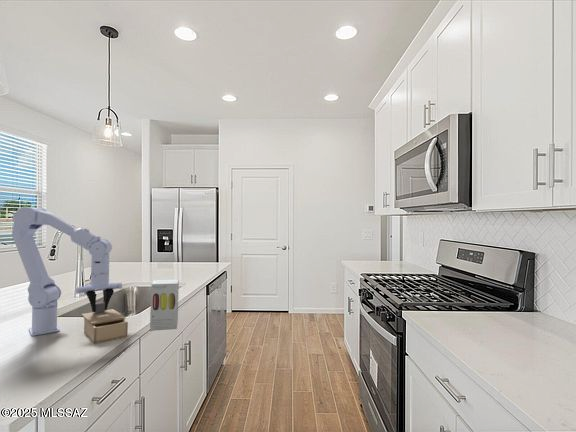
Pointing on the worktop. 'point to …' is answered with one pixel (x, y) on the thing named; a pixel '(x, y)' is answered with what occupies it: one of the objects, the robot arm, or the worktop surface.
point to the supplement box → (164, 305)
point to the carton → (106, 330)
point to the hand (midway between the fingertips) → (99, 310)
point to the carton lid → (102, 315)
